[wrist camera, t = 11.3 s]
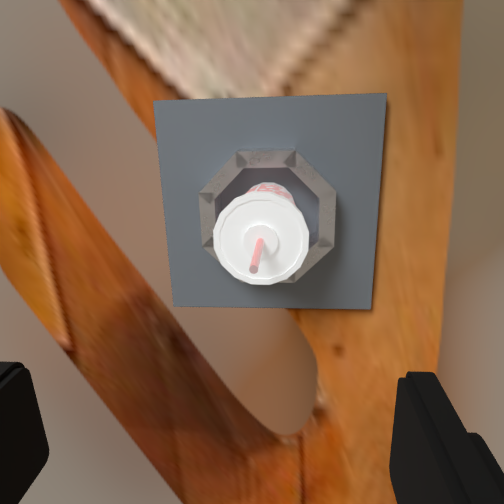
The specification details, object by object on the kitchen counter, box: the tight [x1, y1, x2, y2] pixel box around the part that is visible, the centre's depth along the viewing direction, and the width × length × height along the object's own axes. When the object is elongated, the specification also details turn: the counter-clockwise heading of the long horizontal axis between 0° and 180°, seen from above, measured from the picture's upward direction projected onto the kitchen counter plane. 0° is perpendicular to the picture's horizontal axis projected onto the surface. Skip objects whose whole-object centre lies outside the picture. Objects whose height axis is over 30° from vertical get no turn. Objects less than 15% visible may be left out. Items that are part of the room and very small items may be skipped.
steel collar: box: [198, 147, 336, 283], centre depth 32 cm, size 10×10×3 cm
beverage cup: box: [213, 182, 309, 285], centre depth 27 cm, size 6×6×14 cm
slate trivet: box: [153, 93, 387, 309], centre depth 34 cm, size 18×18×1 cm
